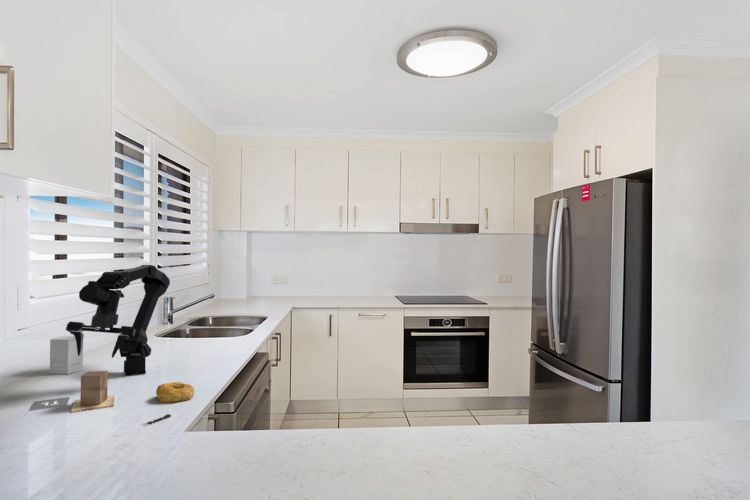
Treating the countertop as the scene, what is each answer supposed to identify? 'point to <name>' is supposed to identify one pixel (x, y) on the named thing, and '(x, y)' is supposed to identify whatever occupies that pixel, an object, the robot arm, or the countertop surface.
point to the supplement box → (65, 355)
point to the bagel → (174, 392)
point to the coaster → (105, 404)
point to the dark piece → (157, 419)
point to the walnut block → (94, 388)
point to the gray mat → (49, 403)
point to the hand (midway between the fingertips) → (95, 356)
